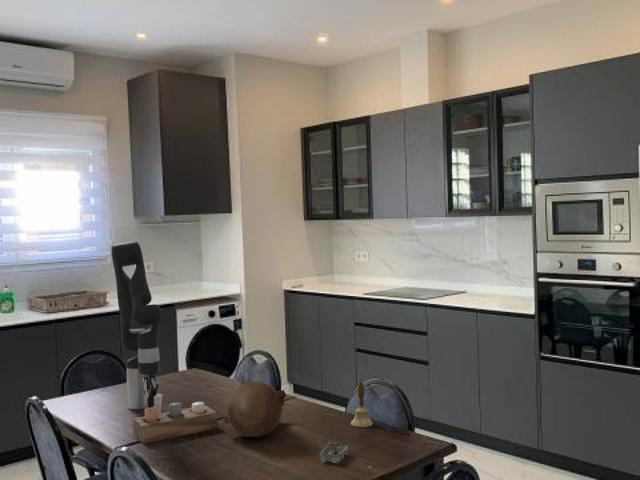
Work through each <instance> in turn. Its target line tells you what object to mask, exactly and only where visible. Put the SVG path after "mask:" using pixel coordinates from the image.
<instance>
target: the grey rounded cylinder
mask: <svg viewBox="0 0 640 480" xmlns="http://www.w3.org/2000/svg"><path fill="white" fill-rule="evenodd" d="M182 409H183V408H182V403H181V402H179V401H178V402H170V403H169V404H168V412H169V418H176V417H181V416H182Z"/></svg>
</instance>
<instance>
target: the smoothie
mask: <svg viewBox="0 0 640 480" xmlns="http://www.w3.org/2000/svg"><path fill="white" fill-rule="evenodd" d="M146 399H147V397H146ZM162 399H163V394H162V393H158V392H157V394H156V396H155V397H154V407H157V408H158V414H160V413H162V412H161V411H162Z"/></svg>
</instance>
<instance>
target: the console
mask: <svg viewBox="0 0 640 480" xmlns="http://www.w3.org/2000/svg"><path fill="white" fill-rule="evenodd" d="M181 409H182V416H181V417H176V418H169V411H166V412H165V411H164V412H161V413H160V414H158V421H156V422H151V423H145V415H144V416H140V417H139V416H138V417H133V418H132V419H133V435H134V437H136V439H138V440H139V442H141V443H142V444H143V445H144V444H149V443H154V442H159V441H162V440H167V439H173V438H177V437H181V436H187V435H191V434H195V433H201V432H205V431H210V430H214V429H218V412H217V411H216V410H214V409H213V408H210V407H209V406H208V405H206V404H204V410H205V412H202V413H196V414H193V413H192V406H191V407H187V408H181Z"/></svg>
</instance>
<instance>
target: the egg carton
mask: <svg viewBox="0 0 640 480" xmlns="http://www.w3.org/2000/svg"><path fill="white" fill-rule="evenodd" d="M325 445H326V446H325V447H323V449H322V450H320V453H319V454H318V456H319V457H320V460H322V461H321V462H326V461H331V462H332V463H336V462H340V463H341V460H344V459H343V458H344V457H345V456H344V455H347V456H348V447H349V446H347V445H344V446H343V445H342V444H340V445H339V446H338V445H337V443H336V442H332V441H331V440H329V441H328V442H327V444H325ZM335 451H336V452H337V453H338V454H337V453H336V452H335ZM335 454H336V455H335ZM340 459H341V460H340ZM331 462H330V463H331ZM326 463H327V462H326ZM332 463H331V464H332ZM336 464H337V463H336Z"/></svg>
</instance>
